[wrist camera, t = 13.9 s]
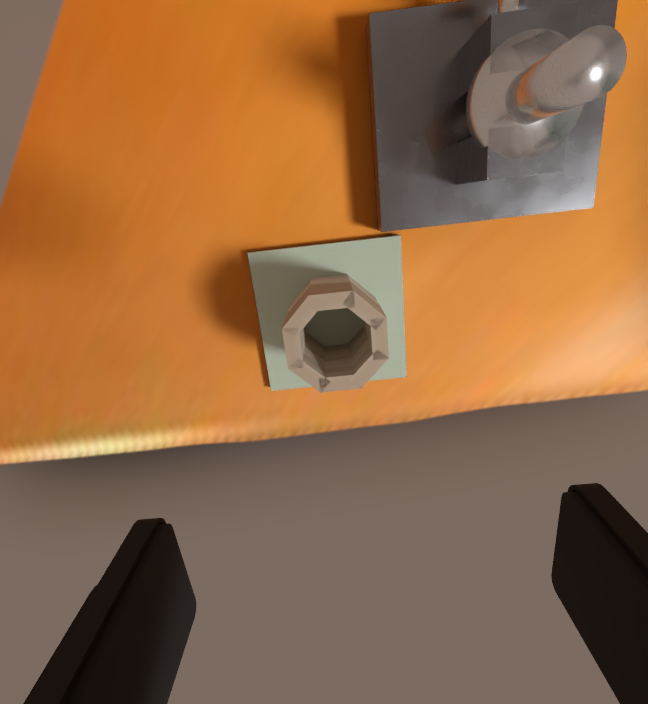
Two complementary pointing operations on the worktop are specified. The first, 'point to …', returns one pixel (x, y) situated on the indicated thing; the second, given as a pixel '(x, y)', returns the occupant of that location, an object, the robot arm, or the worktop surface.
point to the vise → (489, 107)
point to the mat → (337, 324)
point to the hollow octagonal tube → (339, 360)
